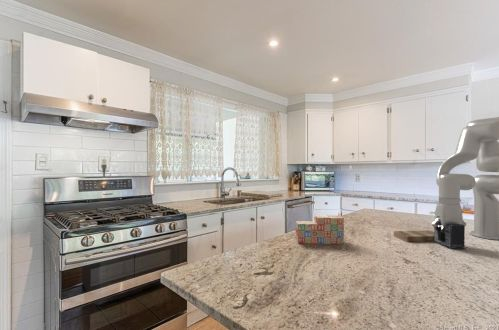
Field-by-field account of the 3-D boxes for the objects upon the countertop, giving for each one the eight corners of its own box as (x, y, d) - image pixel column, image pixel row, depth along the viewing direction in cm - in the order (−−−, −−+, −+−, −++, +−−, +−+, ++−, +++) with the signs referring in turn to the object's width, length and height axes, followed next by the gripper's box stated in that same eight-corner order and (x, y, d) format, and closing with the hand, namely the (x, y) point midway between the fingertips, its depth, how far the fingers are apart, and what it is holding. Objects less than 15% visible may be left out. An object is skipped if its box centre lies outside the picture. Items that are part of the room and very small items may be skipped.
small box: (466, 249, 108) (466, 225, 108) (450, 249, 108) (450, 225, 108) (447, 241, 119) (447, 219, 119) (433, 241, 119) (433, 219, 119)
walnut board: (430, 235, 130) (430, 230, 130) (446, 241, 120) (446, 235, 120) (393, 236, 129) (393, 231, 129) (407, 242, 119) (407, 236, 119)
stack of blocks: (297, 243, 116) (297, 217, 116) (295, 239, 123) (295, 214, 123) (344, 244, 116) (344, 217, 116) (339, 240, 122) (339, 214, 122)
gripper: (459, 200, 118) (459, 238, 118) (424, 200, 117) (424, 238, 117) (474, 202, 111) (474, 243, 111) (437, 203, 109) (437, 243, 109)
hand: (449, 240), depth 114 cm, fingers closed on small box, 6 cm apart
